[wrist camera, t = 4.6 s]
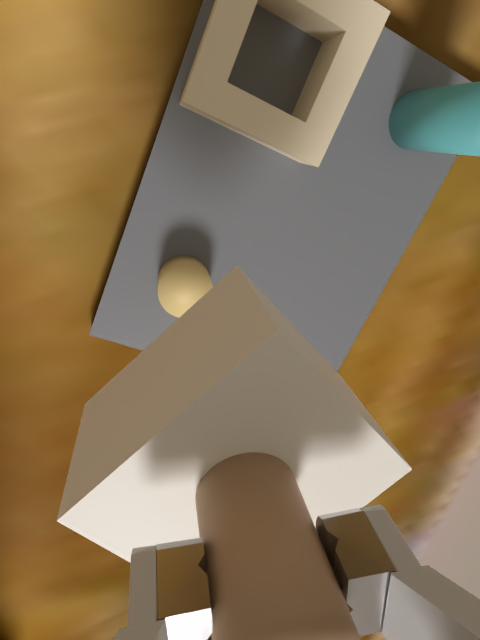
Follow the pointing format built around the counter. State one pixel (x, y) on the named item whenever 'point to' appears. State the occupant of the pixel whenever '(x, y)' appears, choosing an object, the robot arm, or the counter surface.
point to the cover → (233, 462)
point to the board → (278, 171)
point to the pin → (438, 120)
